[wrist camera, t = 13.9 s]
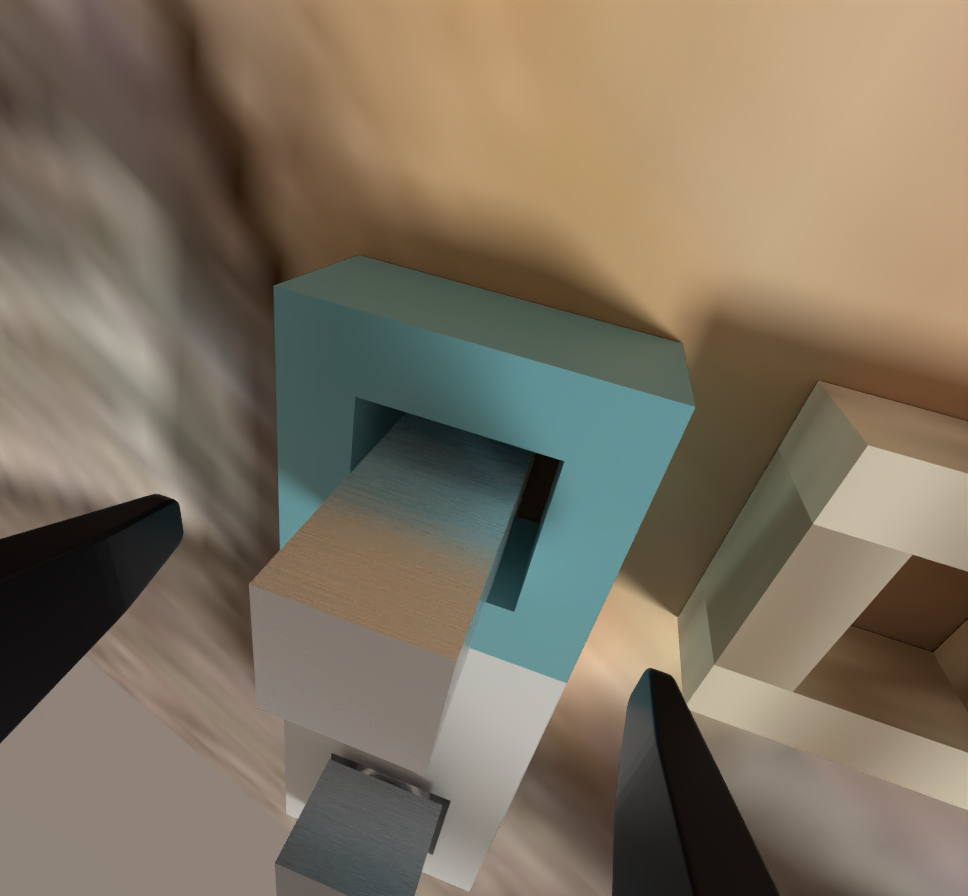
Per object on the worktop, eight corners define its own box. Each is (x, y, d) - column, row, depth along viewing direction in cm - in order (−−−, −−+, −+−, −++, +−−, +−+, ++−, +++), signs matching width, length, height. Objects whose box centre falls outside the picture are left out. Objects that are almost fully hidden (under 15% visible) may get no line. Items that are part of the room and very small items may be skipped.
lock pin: (550, 406, 13) (456, 661, 7) (522, 497, 15) (425, 776, 8) (441, 374, 14) (248, 584, 7) (426, 465, 15) (257, 708, 9)
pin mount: (1227, 491, 10) (1413, 600, 8) (958, 713, 15) (1024, 830, 12) (818, 380, 11) (867, 445, 9) (677, 618, 16) (683, 708, 13)
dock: (682, 343, 12) (695, 407, 9) (491, 798, 23) (469, 891, 20) (358, 254, 13) (273, 285, 10) (329, 734, 24) (286, 813, 21)
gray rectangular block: (476, 696, 20) (405, 921, 14) (453, 768, 23) (387, 979, 17) (380, 660, 21) (274, 863, 15) (370, 735, 24) (279, 929, 18)
